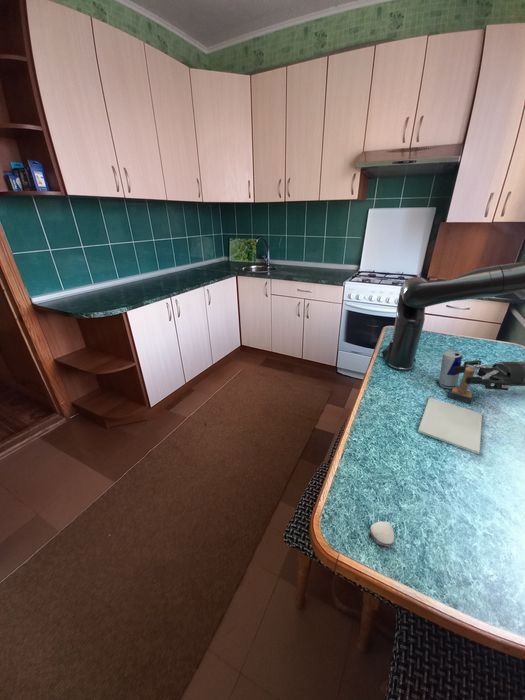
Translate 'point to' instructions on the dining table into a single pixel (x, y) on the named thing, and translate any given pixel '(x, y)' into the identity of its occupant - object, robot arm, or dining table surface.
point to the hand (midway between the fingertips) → (460, 374)
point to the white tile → (452, 425)
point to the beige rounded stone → (382, 533)
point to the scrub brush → (463, 388)
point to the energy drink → (449, 369)
